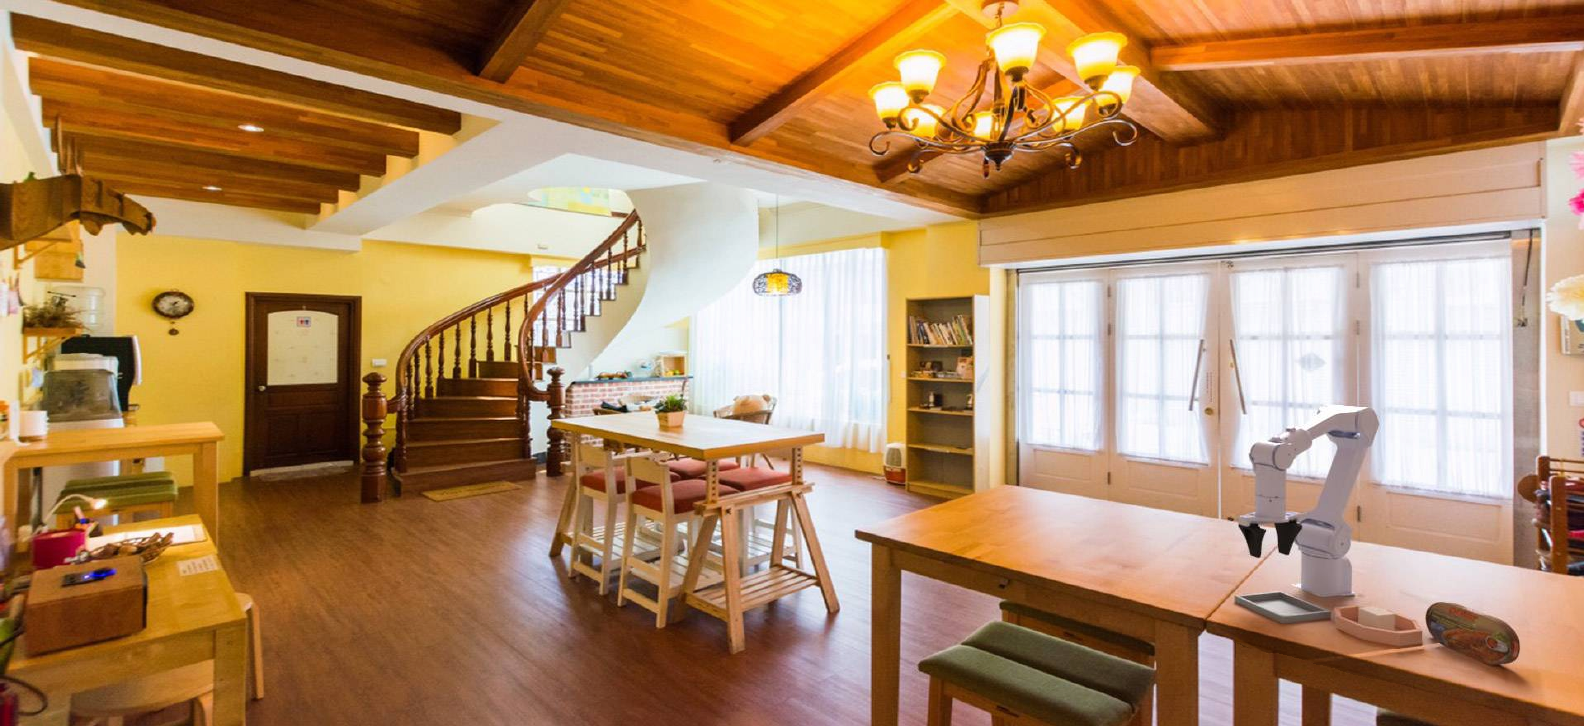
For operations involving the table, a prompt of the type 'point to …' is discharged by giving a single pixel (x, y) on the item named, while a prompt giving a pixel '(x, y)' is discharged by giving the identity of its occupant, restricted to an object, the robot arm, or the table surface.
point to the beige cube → (1376, 618)
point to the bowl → (1403, 634)
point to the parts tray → (1282, 607)
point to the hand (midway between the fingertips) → (1269, 555)
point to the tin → (1473, 633)
